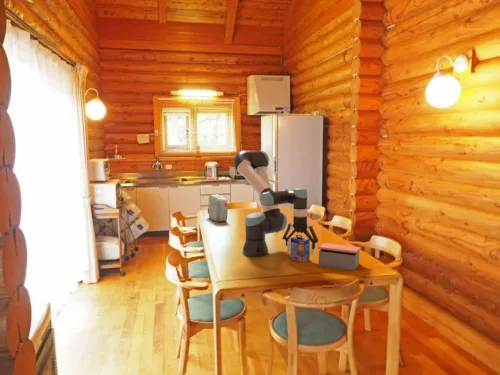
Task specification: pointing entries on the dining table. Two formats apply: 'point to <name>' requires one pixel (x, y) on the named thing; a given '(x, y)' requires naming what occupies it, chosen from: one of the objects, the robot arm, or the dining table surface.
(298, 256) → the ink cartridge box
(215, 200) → the lunch box
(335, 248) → the lid
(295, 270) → the dining table surface
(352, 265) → the box
